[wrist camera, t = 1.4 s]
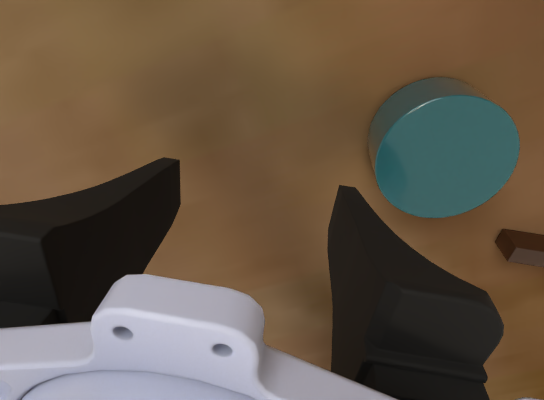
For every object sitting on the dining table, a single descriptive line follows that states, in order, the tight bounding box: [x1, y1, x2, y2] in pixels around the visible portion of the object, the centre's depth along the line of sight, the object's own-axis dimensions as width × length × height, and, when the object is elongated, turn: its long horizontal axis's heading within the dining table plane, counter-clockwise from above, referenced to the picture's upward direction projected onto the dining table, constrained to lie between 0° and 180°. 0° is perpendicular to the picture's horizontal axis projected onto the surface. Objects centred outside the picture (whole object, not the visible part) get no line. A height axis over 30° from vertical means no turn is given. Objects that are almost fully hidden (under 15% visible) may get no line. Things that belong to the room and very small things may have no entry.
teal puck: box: [368, 77, 520, 218], centre depth 20 cm, size 7×7×4 cm
